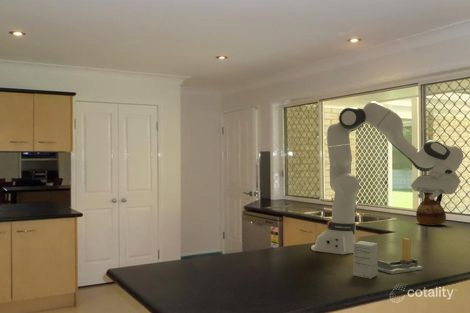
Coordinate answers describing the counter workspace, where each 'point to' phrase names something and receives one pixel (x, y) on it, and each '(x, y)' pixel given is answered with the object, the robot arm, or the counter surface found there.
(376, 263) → the supplement box
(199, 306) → the counter surface
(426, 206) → the ceramic pitcher
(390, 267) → the console
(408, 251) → the orange upright block
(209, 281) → the counter surface
